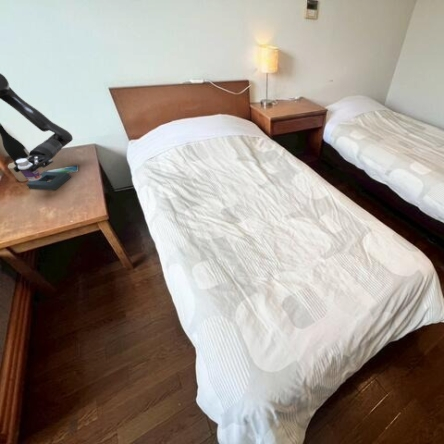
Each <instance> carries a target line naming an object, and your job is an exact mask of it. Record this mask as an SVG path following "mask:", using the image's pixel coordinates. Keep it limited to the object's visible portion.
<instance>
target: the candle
mask: <svg viewBox="0 0 444 444" xmlns="http://www.w3.org/2000/svg"><path fill="white" fill-rule="evenodd" d="M15 166H16V165H15V164H14V161H13V162H11V163H9V164H8V165H7V168H8V169H9V171H10V172H11V174H13V176H14V177H15V178H16V180H17V181H18V182H19V183H20V182H21V183H22V182H27V181H28V180H27V179H26V177H25V176H24V175H23V174H22V172H21V171H19V172H16V171H15V170H14V169H13V168H14V167H15ZM28 182H29V181H28Z"/></svg>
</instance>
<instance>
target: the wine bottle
mask: <svg viewBox="0 0 444 444" xmlns="http://www.w3.org/2000/svg"><path fill="white" fill-rule="evenodd" d="M0 137H1V142H2V146H3V149H4V150H5V152H6V154H7V155H8V156H9V157H10V158H11V160H12V161H13V162H15V161H16V159H17V158H18V157H21V158H26V157H28V156H29V153H30V151H28V149H27V148H26V146H25V145H24V144H22V142H20V141H19V140H18V139H16V138H15V137H14V136H12V135H11V134H10V133H8V131H7V130H6V129H5V127H4V125H2V123H1V122H0Z"/></svg>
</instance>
